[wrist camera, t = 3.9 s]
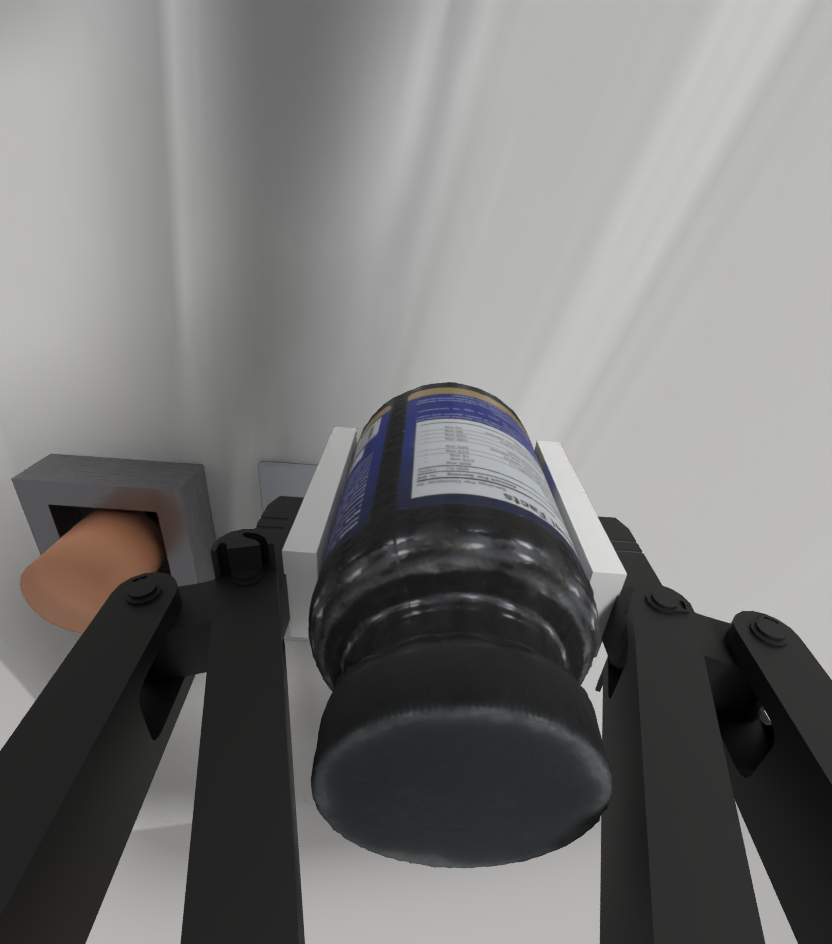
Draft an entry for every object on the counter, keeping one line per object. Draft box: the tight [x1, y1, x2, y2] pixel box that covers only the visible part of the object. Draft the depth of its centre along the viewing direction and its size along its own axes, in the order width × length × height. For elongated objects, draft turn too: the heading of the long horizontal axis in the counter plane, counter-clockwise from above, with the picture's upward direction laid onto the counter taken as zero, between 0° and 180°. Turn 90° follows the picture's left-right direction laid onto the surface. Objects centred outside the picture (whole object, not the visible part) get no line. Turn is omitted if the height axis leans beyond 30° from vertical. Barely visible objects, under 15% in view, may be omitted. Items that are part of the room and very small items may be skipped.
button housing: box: [12, 454, 216, 587], centre depth 29 cm, size 9×9×3 cm
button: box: [20, 508, 167, 633], centre depth 27 cm, size 5×5×5 cm
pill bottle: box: [308, 382, 613, 868], centre depth 12 cm, size 6×6×11 cm
